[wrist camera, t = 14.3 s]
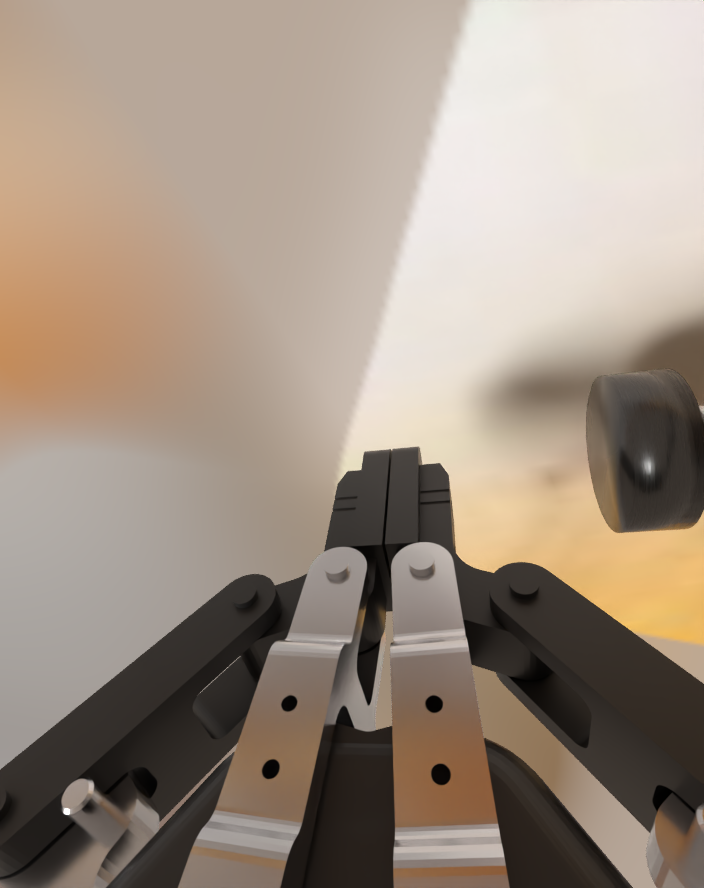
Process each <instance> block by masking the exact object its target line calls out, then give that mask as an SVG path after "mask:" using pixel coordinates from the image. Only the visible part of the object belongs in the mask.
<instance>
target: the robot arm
mask: <svg viewBox="0 0 704 888" xmlns="http://www.w3.org/2000/svg"><path fill="white" fill-rule="evenodd" d="M386 611H393V632H394V642H393V643H391V646H390V666H391V699H392V700H391V701H392V726H390V727H386V728H383V729H379V730H376V727H375V715H376V705H377V699H378V692H379V685H380V678H381V671H382V665H383V658H384V650H385V644H386V635H385V631H384V630H385V620H386ZM239 656H241V657H240V658H238V657H239ZM237 658H238V659H237ZM236 659H237V660H236ZM235 660H236V661H235ZM234 661H235V662H234ZM232 662H234V663H233V664H232V665H231V666H230V667H229V668H227V667H228V666H229V665H230V664H231V663H232ZM471 664H472V665H475V666H478V667H481V668H485V669H488V670H491V671H494V672H496V674H497V676H498V678H499V679H500V681H501V682H502V683H503V684H504V685H505V686H506V687H507V688H508V689H509V690H510V691H511V692H512V693H513V694H514V695H515V696H516V697H517V698H518V699H519V700H520V701H521V702H522V703H523V704H524V706H525V707H527V709H528V710H529V711H530V712H531V713H532V714H533V715H535V717H536V718H538V720H539V721H540V722H541V723H542V724H543V725H544V726H545V727H546V728H547V729H548V730H549V731H550V732H551V733H552V734H553V735H554V736H555V737H556V738H557V739H558V740H559V741H560V742H561V743H562V744H563V745H564V746H565V747H566V748H567V749H568V750H569V751H570V752H571V753H572V754H573V755H574V756H575V757H576V758H577V759H578V760H579V761H580V762H581V763H582V764H583V765H584V766H585V767H586V768H587V769H588V770H589V771H590V773H591V774H593V776H594V777H595V778H596V779H598V781H600V783H601V784H602V785H603V786H604V787H605V788H606V789H607V790H608V791H609V792H610V793H611V794H612V795H613V796H614V797H615V798H616V799H617V800H618V801H619V802H620V803H621V804H622V805H623V806H624V807H625V808H626V809H627V810H628V811H629V812H630V813H631V814H632V815H633V816H634V817H635V818H636V819H637V820H638V821H639V822H640V823H641V824H642V825H643V826H644V827H645V828H646V829H647V830H648V831H649V832H650V836H649V839H648V843H647V848H646V857H647V864H648V868H649V871H650V875H651V877H652V879H653V881H654V884H655V885H656V887H657V888H704V684H703V683H702V682H700V681H699V680H698V679H696V678H695V677H693V676H692V675H691V674H689V673H688V672H686V671H685V670H684V669H683V668H681V667H680V666H678V665H677V664H676V663H674V662H673V661H672V660H670V659H669V658H667V657H666V656H664V655H663V654H662V653H661V652H659V651H658V650H656V649H655V648H654V647H652V646H651V645H649V644H648V643H647V642H645V641H644V640H643V639H641V638H640V637H638V636H637V635H636V634H634V633H633V632H632V631H630V630H629V629H628V628H626V627H625V626H623V625H622V624H621V623H619V622H618V621H616V620H615V619H614V618H612V617H611V616H610V615H608V614H607V613H605V612H604V611H603V610H601V609H600V608H599V607H597V606H596V605H594V604H593V603H592V602H590V601H589V600H588V599H586V598H585V597H583V596H582V595H581V594H579V593H578V592H577V591H575V590H574V589H572V588H571V587H570V586H568V585H567V584H566V583H564V582H563V581H561V580H560V579H559V578H557V577H556V576H555V575H553V574H552V573H550V572H549V571H548V570H546V569H544V568H543V567H540V566H538V565H535V564H532V563H525V562H518V563H511V564H507V565H505V566H503V567H501V568H499V569H498V570H497V571H496V572H495V573H491V572H487V571H482V570H479V569H476V568H473V567H471V566H469V565H467V564H466V563H464V562H463V561H462V560H461V559H460V558H459V557H458V555H457V554H456V547H455V533H454V519H453V510H452V501H451V492H450V483H449V475H448V474H447V472H446V471H445V470H444V468H443V467H442V466H441V464H440V463H438V464H426V465H422V460H421V453H420V448H419V447H410V448H399V449H393V450H391V449H390V450H379V451H368V452H364V456H363V463H362V470H359V471H348V472H347V473H346V474H345V475H344V477H343V478H342V479H341V481H340V482H339V483H338V486H337V491H336V495H335V501H334V505H333V512H332V515H331V521H330V526H329V530H328V535H327V540H326V545H325V550H324V552H323V553H322V554H320V555H319V556H318V557H316V558H315V560H314V561H313V562H312V564H311V565H310V568H309V571H308V573H307V574H305V575H304V576H302V577H299V578H297V579H294V580H291V581H288V582H285V583H282V584H279V585H276V586H275V585H274V584H273V582H272V581H271V579H270V578H268V577H266V576H264V575H259V574H251V575H246V576H243V577H240V578H238V579H236V580H234V581H233V582H231V583H230V584H229V585H228V586H226V587H225V588H224V589H223V590H221V591H220V592H219V593H218V594H216V595H215V596H214V597H213V598H211V599H210V600H209V601H208V602H207V603H205V604H204V605H203V606H202V607H200V608H199V609H198V610H197V611H195V612H194V613H193V614H192V615H190V616H189V617H188V618H187V619H185V620H184V621H183V622H182V623H181V624H179V625H178V626H177V627H176V628H174V629H173V630H172V631H171V632H169V633H168V634H167V635H166V636H165V637H163V638H162V639H161V640H160V641H158V642H157V643H156V644H155V645H153V646H152V647H151V648H150V649H149V650H147V651H146V652H145V653H144V654H142V655H141V656H140V657H139V658H137V659H136V660H135V661H134V662H132V664H130V665H129V666H128V667H126V668H125V669H124V670H123V671H122V672H120V673H119V674H118V675H117V676H115V677H114V678H113V679H111V680H110V681H109V682H108V683H107V684H105V685H104V686H103V687H102V688H100V689H99V690H98V691H97V692H96V693H94V694H93V695H92V696H91V697H89V698H88V699H87V700H86V701H84V702H83V703H82V704H81V705H79V706H78V707H77V708H76V709H75V710H73V711H72V712H71V713H70V714H68V715H67V716H66V717H65V718H64V719H62V720H61V721H60V722H59V723H57V724H56V725H55V726H54V727H52V728H51V729H50V730H49V731H47V732H46V733H45V734H44V735H43V736H41V737H40V738H39V739H37V740H36V741H35V742H34V743H33V744H31V745H30V746H29V747H28V748H26V750H24V751H23V752H22V753H20V754H19V755H18V756H17V757H15V758H14V759H13V760H12V761H11V762H9V763H8V764H7V765H6V766H4V767H3V768H2V769H1V770H0V888H633V887H632V886H631V885H630V884H629V883H628V881H627V880H626V879H625V878H624V877H623V876H622V874H621V873H620V872H619V871H618V870H617V868H616V867H615V866H614V865H613V864H612V863H611V861H610V860H609V859H608V858H607V856H606V855H605V854H604V853H603V852H602V850H601V849H600V848H599V847H598V846H597V845H596V843H595V842H594V841H593V840H592V839H591V837H590V836H589V835H588V834H587V833H586V831H585V830H584V829H583V828H582V827H581V825H580V824H579V823H578V822H577V821H576V820H575V818H574V817H573V816H572V815H571V814H570V812H569V811H568V810H567V809H566V808H565V806H564V805H563V804H562V803H561V802H560V800H559V799H558V798H557V797H556V796H555V794H554V793H553V792H552V791H551V790H550V789H549V787H548V786H547V785H546V784H545V783H544V781H543V780H542V779H541V778H540V777H539V776H538V775H537V774H536V772H535V771H534V770H532V769H531V768H530V767H529V766H528V765H527V764H526V763H525V762H524V761H523V760H521V759H520V758H519V757H518V756H516V755H515V754H514V753H512V752H511V751H509V750H508V749H506V748H504V747H503V746H501V745H499V744H497V743H495V742H492V741H490V740H488V739H486V738H484V737H483V731H482V725H481V719H480V713H479V707H478V701H477V695H476V689H475V683H474V677H473V671H472V665H471ZM226 668H227V669H226ZM225 669H226V670H225ZM224 670H225V671H224ZM223 671H224V672H223ZM222 672H223V673H222ZM220 673H222V674H221V675H220V676H219V677H218V678H217V679H216V680H214V679H215V678H216V677H217V676H218V675H219V674H220ZM212 680H214V681H213V682H212V683H211V681H212ZM209 683H211V684H210V685H209V686H208V687H207V688H206V689H204V688H205V687H206V686H207V685H208V684H209ZM203 689H204V690H203ZM202 690H203V691H202ZM201 691H202V692H201ZM200 692H201V693H200ZM199 693H200V694H199ZM198 694H199V695H198ZM197 695H198V696H197ZM237 743H238V744H237ZM236 744H237V747H236V750H235V752H233V753H232V754H231V755H230V756H229V757H228V758H227V759H225V760H224V761H223V762H222V763H221V764H220V765H219V766H218V767H217V768H216V769H215V770H214V771H213V773H212V774H211V775H210V776H209V777H208V778H207V779H206V780H205V781H204V782H203V783H202V784H201V785H200V787H199V788H198V789H197V790H196V791H195V792H194V793H193V794H192V795H191V797H189V799H188V800H187V801H186V802H185V803H184V804H183V805H182V806H181V807H180V808H179V809H178V810H177V811H176V812H175V814H174V815H173V816H172V817H171V818H170V819H169V820H168V821H167V822H166V823H165V824H164V826H162V828H161V829H160V830H159V822H160V821H161V820H162V819H163V818H164V817H165V816H166V815H167V814H168V813H169V812H170V811H171V810H172V809H173V808H174V807H175V806H176V805H177V804H178V803H179V802H180V801H181V800H182V799H183V798H184V797H185V796H186V794H188V793H189V791H191V790H192V789H193V787H194V786H195V785H196V784H197V783H198V782H199V781H200V780H201V779H202V778H203V777H204V776H205V775H206V774H207V773H208V772H209V771H210V770H211V769H212V768H213V767H214V766H215V765H216V764H217V763H218V762H219V761H220V760H221V759H222V758H223V757H224V756H225V755H226V754H227V753H228V752H229V751H230V750H231V749H232V748H233V747H234V746H235V745H236ZM158 830H159V831H158Z"/></svg>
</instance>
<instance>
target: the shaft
mask: <svg viewBox="0 0 704 888" xmlns="http://www.w3.org/2000/svg"><path fill="white" fill-rule="evenodd" d="M586 438H587V452H588V460H589V467H590V473H591V479H592V483H593V488H594V492H595V495H596V499H597V502H598V505H599V508H600V510H601V513H602V515H603V517H604V519H605V521H606V523H607V524H608V526H609V527H610V528H611V529H612V530H613V531H614V532H617V533H625V532H642V531H660V530H678V529H688V528H690V527H692V526H694V525H695V524H696V523H697V521H698V520H699V518H700V517H701V515H702V512H703V510H704V405H701V406H698V403H697V400H696V398H695V396H694V394H693V392H692V390H691V388H690V387H689V385H688V383H687V382H686V381H685V379H684V378H683V377H682V376H681V375H680V374H679V373H677V372H676V371H674V370H672V369H658V370H649V371H640V372H631V373H622V374H614V375H605V376H599V377H597V378H596V379H595V381H594V382H593V384H592V386H591V390H590V393H589V398H588V404H587V416H586Z"/></svg>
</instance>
